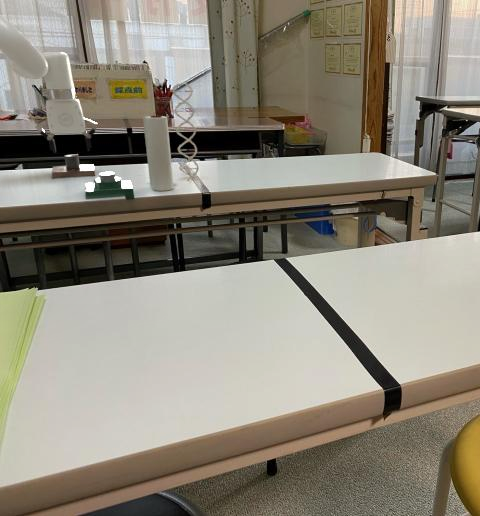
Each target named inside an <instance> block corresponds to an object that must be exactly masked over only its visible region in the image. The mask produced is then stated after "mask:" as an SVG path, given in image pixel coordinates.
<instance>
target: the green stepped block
mask: <svg viewBox="0 0 480 516" xmlns="http://www.w3.org/2000/svg"><path fill="white" fill-rule="evenodd" d="M115 179H116V180H114V181H100V177H97V178H95V179H93V182H87V183H86V182H85V183H84V193H85V198H86V200H95V199H105V198H106V199H107V198H119V197H124V198H125V200H127V201H128V200H135V193H134V186H133V184H132V182H131V180H122V178H121V177H119V176H115Z"/></svg>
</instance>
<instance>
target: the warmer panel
mask: <svg viewBox="0 0 480 516" xmlns="http://www.w3.org/2000/svg"><path fill="white" fill-rule="evenodd" d="M51 176H52V179H70V178H86V177H96V173H95V165H94V163H93V164H80V168H79V169H66V165H56V166H55V165H54V166H52V170H51Z"/></svg>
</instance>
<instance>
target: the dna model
mask: <svg viewBox="0 0 480 516" xmlns="http://www.w3.org/2000/svg"><path fill="white" fill-rule="evenodd" d="M184 84H185V86H187V88H188V89H189V90H184V93H189V95H188V96H187V97H186V98H185V99H183V98H181V97H180V96H179V95H178V94H176V93H182V92H183V90H176V88H177V87H178V86H179V85H180V83H179V82H178V83H177V84H175V85H174V86H173V87H172V90H171V91H172V94H173V95H174V97H176V98H177V99H178V100H180V101H181V102H178V104H177V105H176V106H175V107H174V109H173V112H174V114H175V115H176V116H177V117H178V118H180V119H181V120H183V122H181V123H180V124H179V125H178V126H177V127H176V128H175V132H176V134H177V135H178V136H180V137H182V139H185V140H184V141H183V142H182V143H181V144H179V146H178V147H177V152H178V153H179V154H180V155H181V156H182V155H183V157H185V158H187V160H185V161H183V163H181V164H180V165H179V168H178V169H179V170H180V171H181V173H183V174H185V175H187V176H189V177H188V178H187V179H186V181H187V182H189V181H190V180H191V179H193V178H194V177H195V176H196V175H197V174H198V172H199V169H200V167H199V165H198V163H197V162H196V161H195V159H193V158H194V157H195V156H196V155H197V153H198V148H197V146H196V144H195V143H194V142H193V141H192V139H193V138H194V136H195V135H196V133H197V129H196V127H195V126H194V125H193V123H191V121H190V120H191V119H192V118H193V117H194V114H195V109H194V107H193V106H192V105H191V104H190V103H189V102H188V100H189V99H190V98H191V97H192V96H193V93H194V91H195V90H193V88H192V87H191V86H190V84H188V83H187V82H184ZM183 104H184V105H185V104H186V105H187V106H188V107H189V108H190V110H178V109H179V108H180V106H182V105H183ZM180 112H184V113H191V114H190V115H189V116H188V117H187V119H186V118H184V117H183V116H181V115H180V114H179V113H180ZM184 124H189V125H190V127H192V129H193V130H189V129H188V130H187V132H193V133H192V134H191V136H190V137H189V138H188V137H186V136H184V135H183V134H182V133H181V132H185V130H180V129H181V127H182V126H183V125H184ZM187 143H190V144H191V145H193V147H194V148H193V149H191V148H190V149H188V151H194V153H193V154H192V155H191V156H189V155H187V154H186V153H184V152H182V151H183V149H181V148H182V147H183V146H184V145H185V144H187ZM184 151H187V149H184ZM189 162H193V164H194V165H195V166H196V167H189V168H188V167H185V168H184V167H183V166H184V165H185V164H187V163H189ZM185 170H195V172H194V173H192V174H190V173H188V172H186V171H185Z"/></svg>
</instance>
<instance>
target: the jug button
mask: <svg viewBox="0 0 480 516" xmlns="http://www.w3.org/2000/svg"><path fill="white" fill-rule="evenodd" d="M115 177H116V173H115V172H113V171H105V172H100V173H98V178H100V181H114V180H116V179H115Z"/></svg>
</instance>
